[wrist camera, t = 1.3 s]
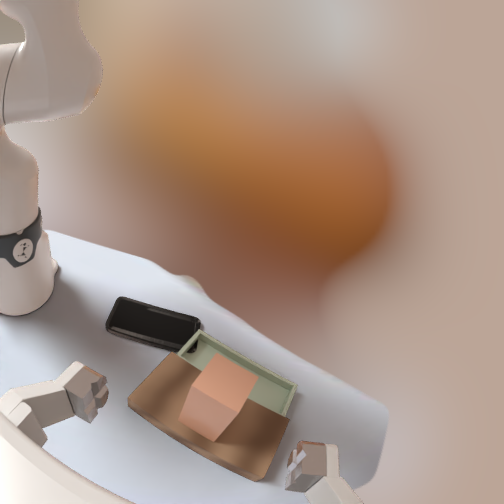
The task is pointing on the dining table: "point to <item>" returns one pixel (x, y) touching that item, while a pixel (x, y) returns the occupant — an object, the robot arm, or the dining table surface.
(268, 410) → the platform
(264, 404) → the box
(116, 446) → the dining table surface
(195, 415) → the terracotta block
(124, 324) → the phone
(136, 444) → the dining table surface
